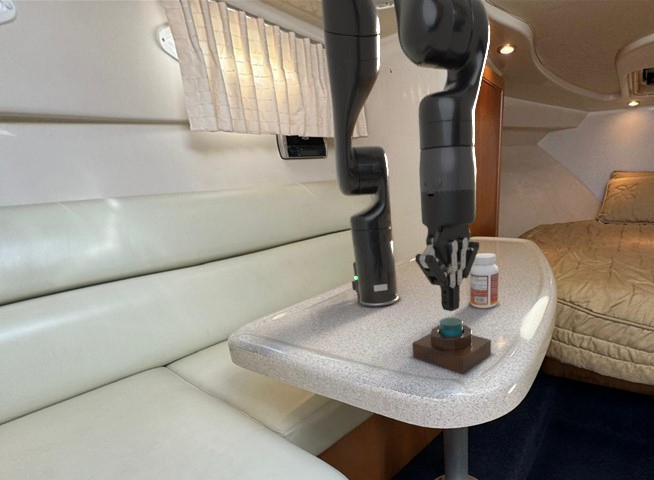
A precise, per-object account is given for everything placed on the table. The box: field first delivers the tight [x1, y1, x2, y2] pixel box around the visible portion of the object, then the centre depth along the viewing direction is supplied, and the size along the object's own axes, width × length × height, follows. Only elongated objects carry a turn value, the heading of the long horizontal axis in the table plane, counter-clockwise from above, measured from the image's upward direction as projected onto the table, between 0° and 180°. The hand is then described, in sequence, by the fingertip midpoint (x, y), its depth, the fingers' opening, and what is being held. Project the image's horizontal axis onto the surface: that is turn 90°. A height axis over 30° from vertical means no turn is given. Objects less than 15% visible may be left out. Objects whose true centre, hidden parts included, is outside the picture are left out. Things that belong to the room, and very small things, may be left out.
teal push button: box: [439, 317, 464, 336], centre depth 58 cm, size 4×4×2 cm
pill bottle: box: [469, 252, 499, 309], centre depth 81 cm, size 6×6×11 cm
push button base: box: [412, 324, 492, 375], centre depth 59 cm, size 10×8×4 cm
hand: (450, 309), depth 56 cm, fingers closed
